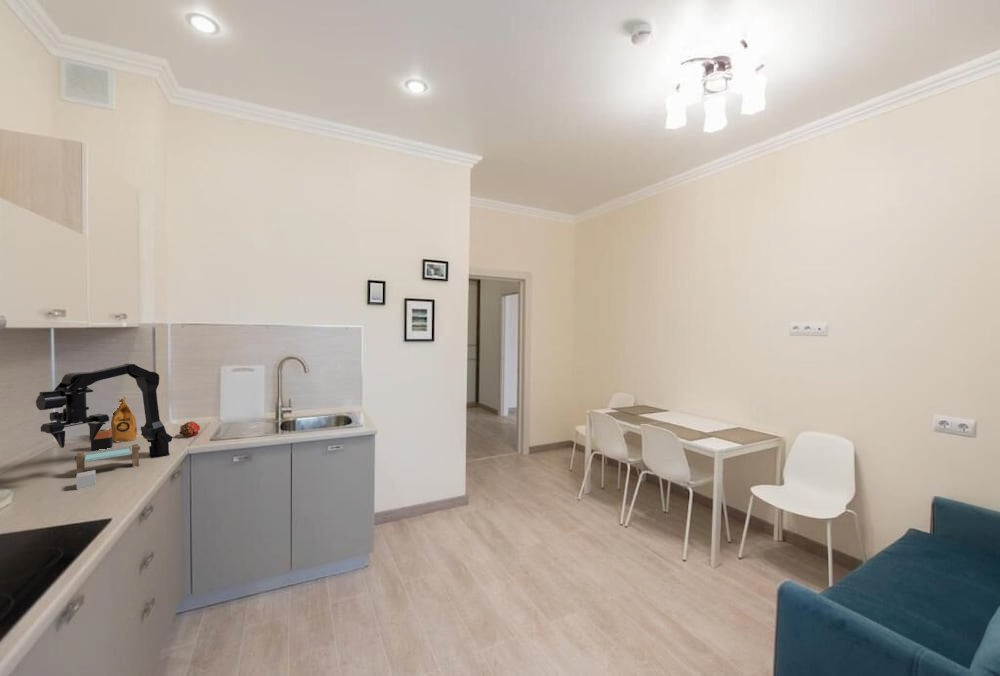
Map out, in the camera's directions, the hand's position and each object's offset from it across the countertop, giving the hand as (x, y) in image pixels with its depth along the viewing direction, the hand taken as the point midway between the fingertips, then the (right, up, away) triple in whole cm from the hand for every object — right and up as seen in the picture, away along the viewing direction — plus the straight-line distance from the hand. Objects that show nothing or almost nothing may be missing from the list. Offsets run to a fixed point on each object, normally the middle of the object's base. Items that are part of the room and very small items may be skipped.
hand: (77, 444), depth 162 cm
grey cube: (+10, -15, -6) cm, 18 cm away
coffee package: (-29, -11, +52) cm, 60 cm away
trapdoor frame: (+3, -13, +10) cm, 17 cm away
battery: (-25, -12, +36) cm, 45 cm away
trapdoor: (+3, -9, +10) cm, 14 cm away
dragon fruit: (0, -11, +59) cm, 60 cm away
